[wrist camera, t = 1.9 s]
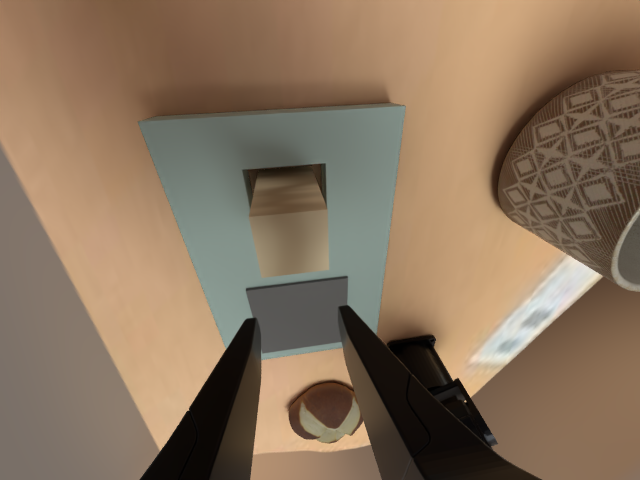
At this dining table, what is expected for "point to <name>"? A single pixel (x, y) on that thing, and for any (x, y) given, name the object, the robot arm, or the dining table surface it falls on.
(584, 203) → the planter
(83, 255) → the dining table surface
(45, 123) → the dining table surface
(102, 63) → the dining table surface
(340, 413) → the bread
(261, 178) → the maple block
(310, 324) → the pocket board
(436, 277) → the dining table surface
